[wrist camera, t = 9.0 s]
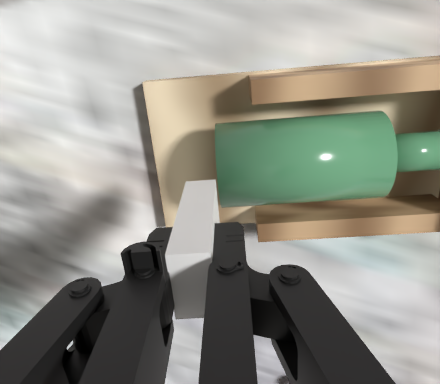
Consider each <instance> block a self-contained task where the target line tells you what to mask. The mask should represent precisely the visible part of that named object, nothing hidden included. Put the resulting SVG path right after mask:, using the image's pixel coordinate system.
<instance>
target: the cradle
mask: <svg viewBox="0 0 440 384" xmlns="http://www.w3.org/2000/svg"><path fill="white" fill-rule="evenodd" d="M142 83H143V89H144V96H145V102H146V108H147V114H148V120H149V126H150V132H151V138H152V144H153V151H154V157H155V163H156V169H157V175H158V181H159V187H160V193H161V199H162V206H163V212H164V218H165V224H166V227H173V225H174V221H175V218H176V214H177V211H178V207H179V204H180V200H181V197H182V193H183V190H184V186H185V183H186V181H200V180H214V179H216V189H217V199H218V210H219V220H220V223H227V222H239V223H240V224H243V223H256V228H257V235H258V242H269V241H286V240H304V239H321V238H338V237H356V236H373V235H391V234H408V233H425V232H440V170H426V171H412V172H397V173H396V177H395V181H394V184H393V187H392V189H391V191H390V192H389V194H388V195H387V196H385V197H383V198H368V199H353V200H337V201H322V202H306V203H291V204H275V205H260V206H244V207H229V208H221V205H220V199H219V191H218V182H217V170H216V155H215V123H225V122H238V121H251V120H263V119H276V118H289V117H301V116H314V115H327V114H340V113H352V112H365V111H378V110H379V111H383V112H384V113H386V115H387V116H388V117H389V119H390V121H391V123H392V125H393V128H394V132H395V134H401V133H414V132H428V131H438V130H439V129H440V56H430V57H418V58H406V59H394V60H383V61H371V62H359V63H347V64H336V65H324V66H312V67H300V68H289V69H277V70H265V71H253V72H241V73H230V74H218V75H206V76H194V77H183V78H171V79H159V80H147V81H144V82H142Z"/></svg>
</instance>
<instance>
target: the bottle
mask: <svg viewBox="0 0 440 384" xmlns="http://www.w3.org/2000/svg"><path fill="white" fill-rule="evenodd" d="M215 155H216V170H217V182H218V191H219V199H220V205H221V208H229V207H244V206H260V205H275V204H291V203H306V202H322V201H337V200H353V199H368V198H383V197H385V196H387V195H388V194H389V192H390V191H391V189H392V187H393V184H394V181H395V177H396V173H397V172H412V171H426V170H440V129H439V130H438V131H428V132H414V133H401V134H395V132H394V128H393V125H392V123H391V121H390V119H389V117H388V116H387V115H386V113H384V112H383V111H379V110H378V111H365V112H352V113H340V114H327V115H314V116H301V117H289V118H276V119H263V120H251V121H238V122H225V123H215Z"/></svg>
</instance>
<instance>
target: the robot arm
mask: <svg viewBox="0 0 440 384" xmlns="http://www.w3.org/2000/svg"><path fill="white" fill-rule="evenodd" d="M121 257H122V261H123V266H124V270H125V276H124V278H123V280H122V281H120V282H117V283H114V284H110V285H107V286H103V287H102V286H101V282H100V281H99V280H98V279H95V278H92V277H91V278H81V279H77V280H75V281H73V282H71V283H69V284H67V285H66V286H65V287H64V288H62V289H61V290H60V291H59V292H58V293H57V294H56V295H55V296H54V297H53V298H52V299H51V300H50V301H49V302H48V303H47V304H46V305H45V306H44V307H43V308H42V309H41V310H40V311H39V312H38V313H37V314H36V315H35V316H34V317H33V318H32V319H31V320H30V321H29V322H28V323H27V324H26V325H25V326H24V327H23V328H22V329H21V330H20V331H19V332H18V333H17V334H16V335H15V336H14V337H13V338H12V339H11V340H10V341H9V342H8V343H7V344H6V345H5V346H4V347H3V348H2V349H1V350H0V384H164V383H165V378H166V372H167V366H168V361H169V355H170V349H171V344H172V338H173V332H174V326H173V320H172V316H173V311H174V312H175V317H176V319H188V318H204V325H203V337H202V349H201V361H200V373H199V384H258V383H257V372H256V361H255V349H254V338H253V335H258V336H262V337H266V338H271V341H272V345H273V347H274V349H275V351H276V353H277V356H278V358H279V360H280V362H281V364H282V366H283V368H284V371H285V373H286V375H287V377H288V379H289V381H290V384H395V382H394V381H393V380H392V378H391V377H390V376H389V375H388V373H387V372H386V371H385V369H384V368H383V367H382V366H381V364H380V363H379V362H378V360H377V359H376V358H375V357H374V355H373V354H372V353H371V351H370V350H369V349H368V348H367V346H366V345H365V344H364V342H363V341H362V340H361V339H360V337H359V336H358V335H357V333H356V332H355V331H354V330H353V328H352V327H351V326H350V324H349V323H348V322H347V321H346V319H345V318H344V317H343V315H342V314H341V313H340V312H339V310H338V309H337V308H336V306H335V305H334V304H333V303H332V301H331V300H330V299H329V297H328V296H327V295H326V294H325V292H324V291H323V290H322V288H321V287H320V286H319V285H318V283H317V282H316V281H315V279H314V278H313V277H312V276H311V274H310V273H309V272H308V271H307V270H306V269H304V268H302V267H300V266H297V265H290V264H289V265H281V266H278V267H275V268H274V269H273V270H272V271H271V272H270V274H263V273H259V272H257V271H254V270H253V269H251V268H250V267H249V266H248V265H247V262H246V252H245V241H244V230H243V227H242V226H241V225H240V223H239V222H227V223H220V220H219V210H218V199H217V189H216V179H214V180H200V181H186V183H185V186H184V190H183V193H182V197H181V200H180V204H179V207H178V211H177V214H176V218H175V221H174V225H173V227H164V228H156V229H155V230H154V231H153V232H151V233H150V234H149V236H148V239H147V242H140V243H135V244H133V245H130V246H128V247H127V248H125V249H124V250H123V251H122V252H121ZM72 340H73V345H72V346H71V347H70V348H69V349H68V350H67V349H66V348H67V346H68V345H69V344H70V342H71V341H72Z"/></svg>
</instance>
